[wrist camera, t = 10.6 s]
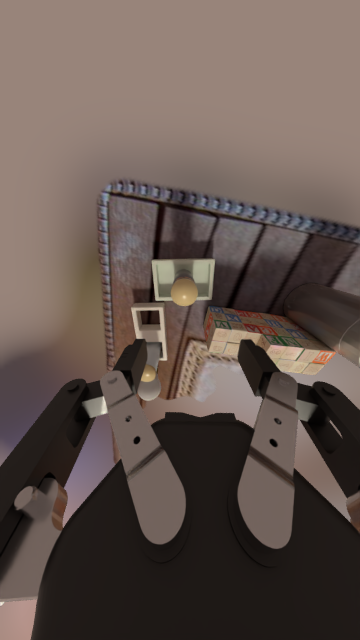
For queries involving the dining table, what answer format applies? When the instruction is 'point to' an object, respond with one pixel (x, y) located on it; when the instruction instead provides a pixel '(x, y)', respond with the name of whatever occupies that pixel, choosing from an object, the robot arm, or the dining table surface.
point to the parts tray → (169, 267)
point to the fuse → (151, 361)
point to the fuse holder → (151, 326)
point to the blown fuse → (184, 288)
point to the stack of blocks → (266, 339)
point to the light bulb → (149, 388)
